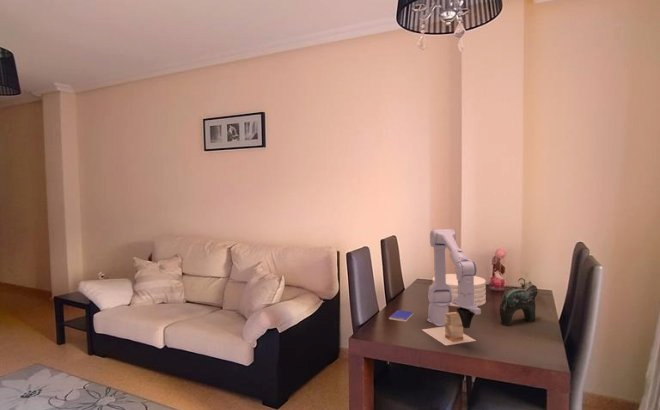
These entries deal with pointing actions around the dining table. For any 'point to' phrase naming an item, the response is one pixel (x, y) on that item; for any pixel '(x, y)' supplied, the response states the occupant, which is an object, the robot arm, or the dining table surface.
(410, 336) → the dining table surface
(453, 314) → the birch block
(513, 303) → the green elephant figurine
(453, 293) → the plate stack
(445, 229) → the robot arm
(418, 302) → the dining table surface
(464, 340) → the beige mat
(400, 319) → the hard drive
